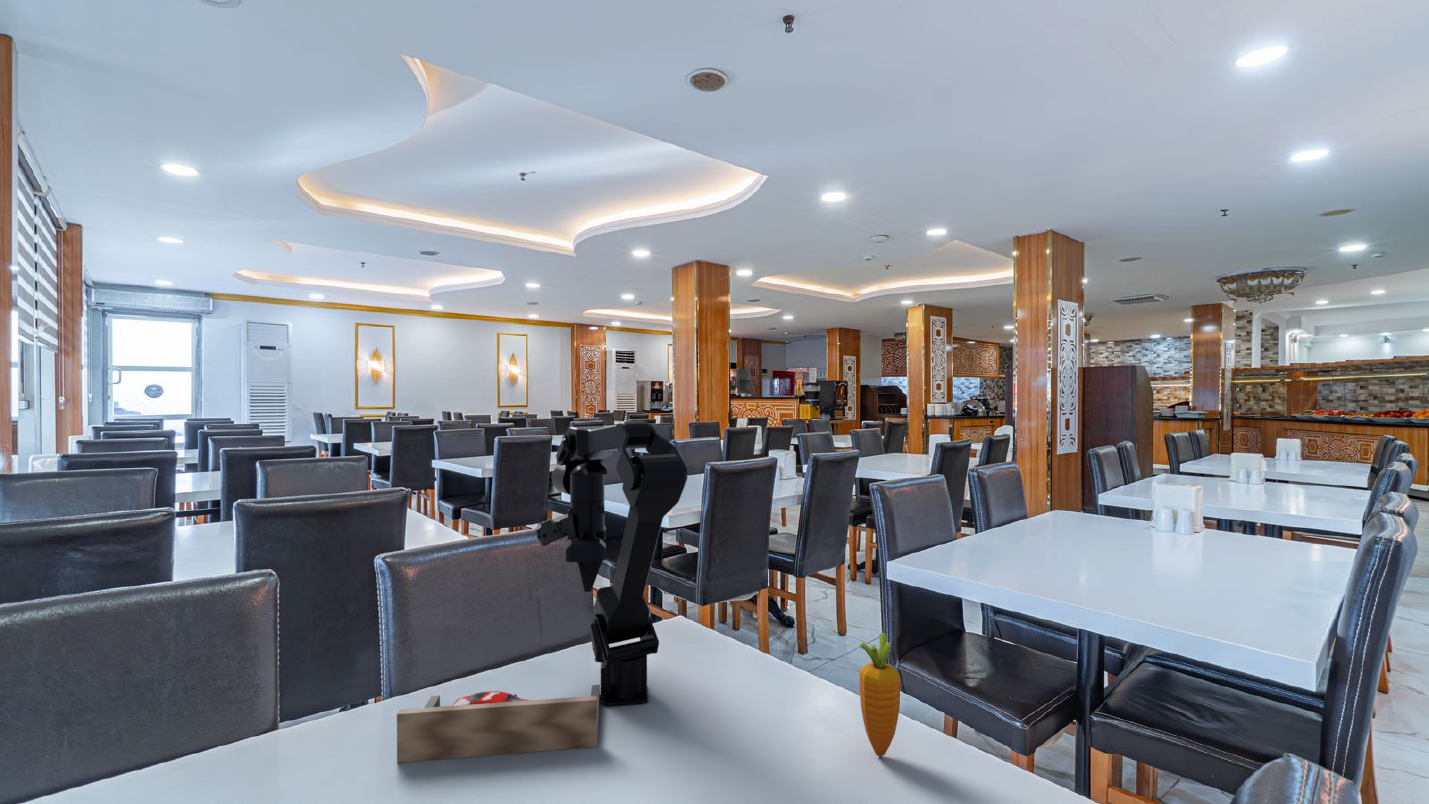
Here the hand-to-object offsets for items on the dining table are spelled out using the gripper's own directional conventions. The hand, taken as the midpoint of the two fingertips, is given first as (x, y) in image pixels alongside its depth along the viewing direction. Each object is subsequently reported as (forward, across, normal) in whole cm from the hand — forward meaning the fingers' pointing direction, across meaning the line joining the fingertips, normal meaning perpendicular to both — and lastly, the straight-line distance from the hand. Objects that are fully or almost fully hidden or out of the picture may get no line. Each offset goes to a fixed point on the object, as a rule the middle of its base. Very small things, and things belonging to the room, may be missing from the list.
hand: (587, 591), depth 111 cm
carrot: (+12, +36, +37) cm, 53 cm away
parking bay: (+12, +21, -10) cm, 26 cm away
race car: (+12, +19, -12) cm, 26 cm away
